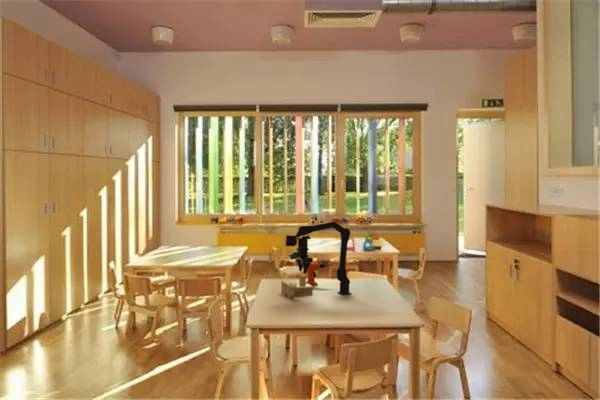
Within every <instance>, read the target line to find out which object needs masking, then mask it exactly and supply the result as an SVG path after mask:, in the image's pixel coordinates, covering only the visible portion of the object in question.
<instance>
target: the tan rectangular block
mask: <svg viewBox="0 0 600 400" xmlns="http://www.w3.org/2000/svg"><path fill="white" fill-rule="evenodd" d="M289 285H291V286H292V289H297V283H296V281H295V282H289Z"/></svg>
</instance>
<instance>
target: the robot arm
mask: <svg viewBox="0 0 600 400" xmlns="http://www.w3.org/2000/svg"><path fill="white" fill-rule="evenodd" d="M329 229H334V230H335V231H337V232H338V233H339V236H340V248H339V249H340V251H339V261H338V267H335V274H334V275H335V276H336V278H337V280H338V281H339V291H337V293H338V294H340V295H342V296H343V295H344V296H345V295H352V292H350V283H351V280H350V278H349V277H348V276H347V275H348V274H347V268H346V264H347V254H348V253H347V252H348V243H349V240H350V236H351V230H350V229H349V228H348V227H347V226H342V225H340V224H339V223H337V222H336V221H335V220H331V221H328V222H323V223H317V224H308V225H307V224H306V225H305V224H301V225H300V226H299V227H298V231H297V232H296V233H295V235H294V234H293V235H292V234H291V235H289V234H286V237H285V238H286V239H285V247H296V246H297V248H296V250H294V251H292V252H289V253H288V257H289V259H290V260H294V261H295V262H296V263H297V266H298V271H299V272H302V271H303V275H305V274H307V273H308V272H307V270H308V267H309V266H310V264H312V263H313V261H314V260H313V258H312V257H311V256H310V255H309V254H308V251H310V250H309V247H308V245H309V244H308V243H309V241H308V240H311V239H312V238H311V237H310V236H309V234H311V233H314V232H318V231H325V230H329Z"/></svg>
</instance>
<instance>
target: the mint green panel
mask: <svg viewBox="0 0 600 400" xmlns="http://www.w3.org/2000/svg"><path fill="white" fill-rule="evenodd" d="M298 277H299V278H298V279H299V280H298V281H299V284H297V283H296V284H297V288H311V287H313V286H311V285H309V284H306V282H307V281H306V278H307V277H306V275H305V274H300V275H299V276H298Z"/></svg>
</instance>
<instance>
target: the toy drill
mask: <svg viewBox="0 0 600 400" xmlns="http://www.w3.org/2000/svg"><path fill="white" fill-rule="evenodd" d="M326 267H333V264H332V263H331V264H324V263H317V262H315V263H313V262H311V264H310V266H309V267H308V270H307V272H306V273H307V281H306V284H309V285H311V286H314V287H315V286H317V287H318V282H317V281H315V278H316V277H317V276H318V275H317V274H316V272H315V271H318V270H320V269H325V268H326Z"/></svg>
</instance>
